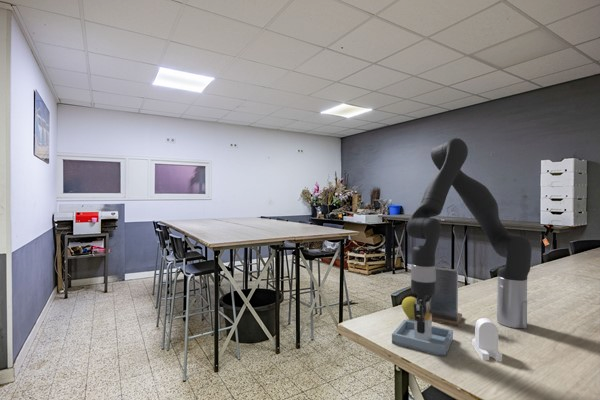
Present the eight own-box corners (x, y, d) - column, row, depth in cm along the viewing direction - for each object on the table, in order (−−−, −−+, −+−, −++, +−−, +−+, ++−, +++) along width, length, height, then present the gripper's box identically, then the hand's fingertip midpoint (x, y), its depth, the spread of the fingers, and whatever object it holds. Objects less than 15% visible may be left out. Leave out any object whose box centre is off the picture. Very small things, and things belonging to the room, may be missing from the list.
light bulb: (398, 320, 123) (398, 294, 123) (415, 319, 123) (415, 294, 123) (405, 327, 116) (406, 300, 116) (423, 327, 117) (424, 299, 116)
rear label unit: (462, 317, 125) (462, 267, 125) (458, 326, 117) (458, 273, 117) (419, 309, 134) (420, 262, 134) (413, 317, 126) (413, 267, 126)
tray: (452, 339, 107) (452, 330, 107) (445, 357, 96) (445, 347, 96) (404, 327, 116) (404, 319, 116) (391, 343, 105) (391, 333, 105)
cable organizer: (489, 345, 103) (490, 314, 102) (502, 361, 93) (503, 327, 93) (471, 344, 104) (472, 313, 104) (482, 360, 94) (483, 326, 94)
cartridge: (431, 337, 106) (431, 313, 106) (428, 342, 103) (428, 317, 103) (417, 334, 109) (418, 310, 109) (414, 339, 105) (414, 314, 105)
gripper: (430, 285, 97) (430, 341, 98) (439, 275, 109) (439, 324, 110) (405, 281, 102) (405, 335, 102) (417, 272, 113) (416, 320, 114)
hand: (422, 329), depth 106 cm, fingers open, 5 cm apart
